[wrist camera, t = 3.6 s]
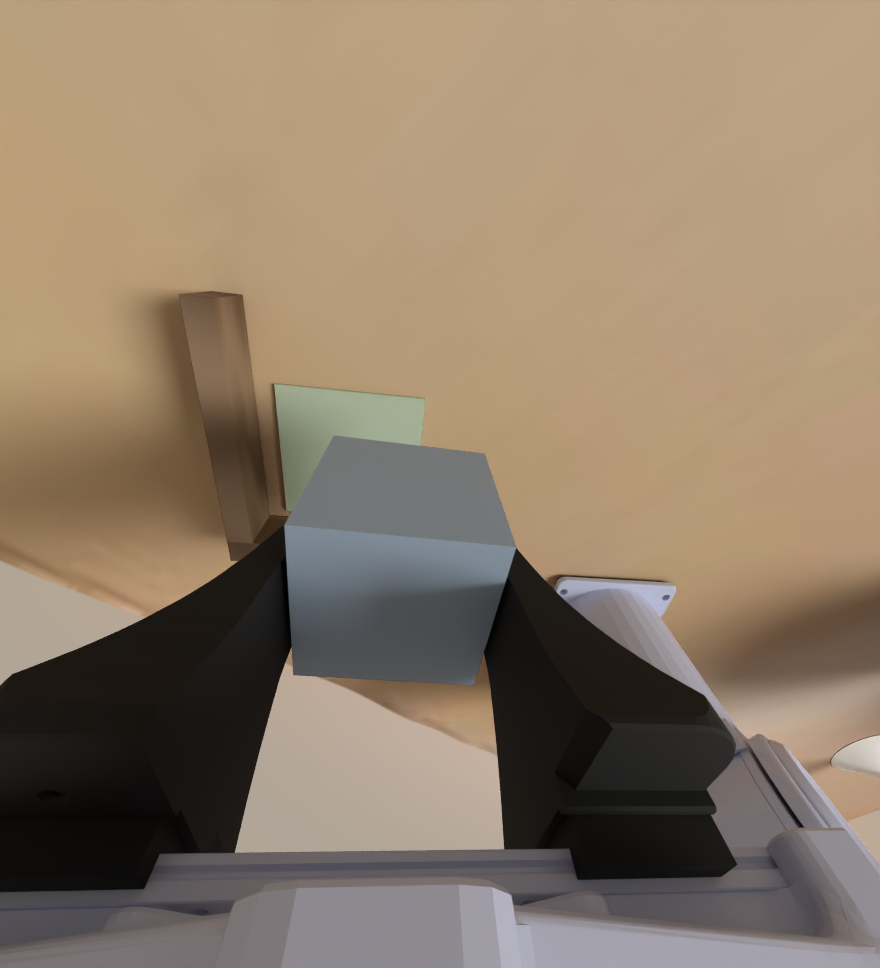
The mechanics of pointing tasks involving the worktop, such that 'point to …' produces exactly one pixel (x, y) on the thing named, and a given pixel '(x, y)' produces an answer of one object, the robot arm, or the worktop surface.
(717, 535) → the worktop surface
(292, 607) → the cube
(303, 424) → the pad
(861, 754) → the champagne flute
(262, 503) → the wooden l-bracket
